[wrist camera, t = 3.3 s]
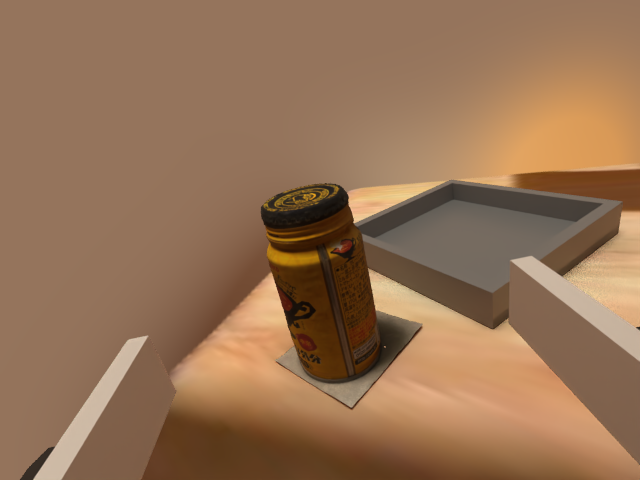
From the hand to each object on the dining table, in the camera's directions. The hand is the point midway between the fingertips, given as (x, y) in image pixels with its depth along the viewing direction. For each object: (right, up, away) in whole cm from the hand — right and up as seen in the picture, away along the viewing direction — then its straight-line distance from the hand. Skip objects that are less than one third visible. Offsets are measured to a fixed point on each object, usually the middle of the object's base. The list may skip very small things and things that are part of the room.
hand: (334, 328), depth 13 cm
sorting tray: (+14, +3, +22) cm, 27 cm away
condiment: (+2, -5, +13) cm, 14 cm away
